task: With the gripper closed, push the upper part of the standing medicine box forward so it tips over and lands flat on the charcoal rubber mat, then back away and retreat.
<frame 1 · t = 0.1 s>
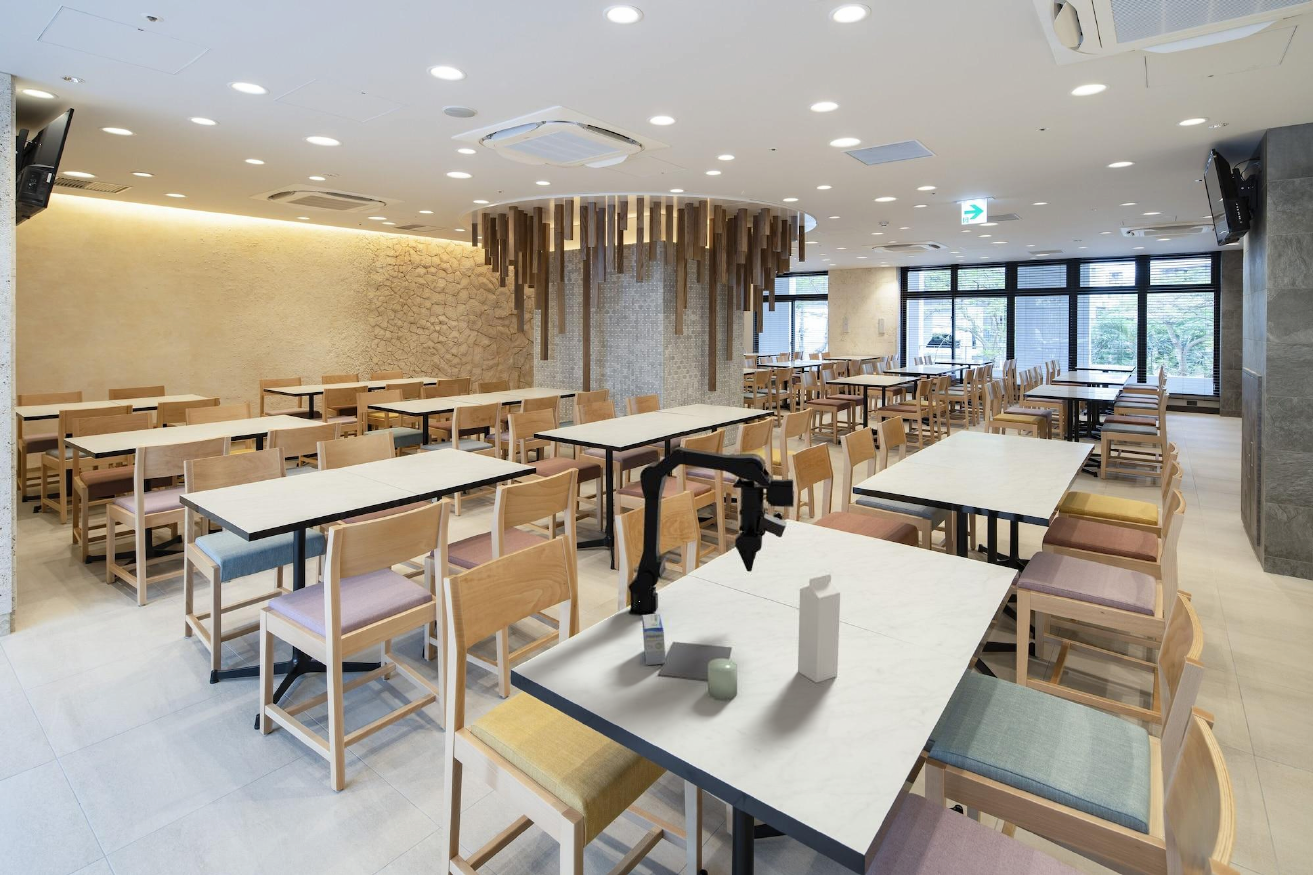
hand: (751, 565, 174), 15 cm above the table, fingers open, 9 cm apart
medicine box: (655, 657, 157), on the table, touching mat
mat: (696, 661, 155), on the table
milk: (817, 674, 149), on the table
pale green cylinder: (722, 692, 142), on the table
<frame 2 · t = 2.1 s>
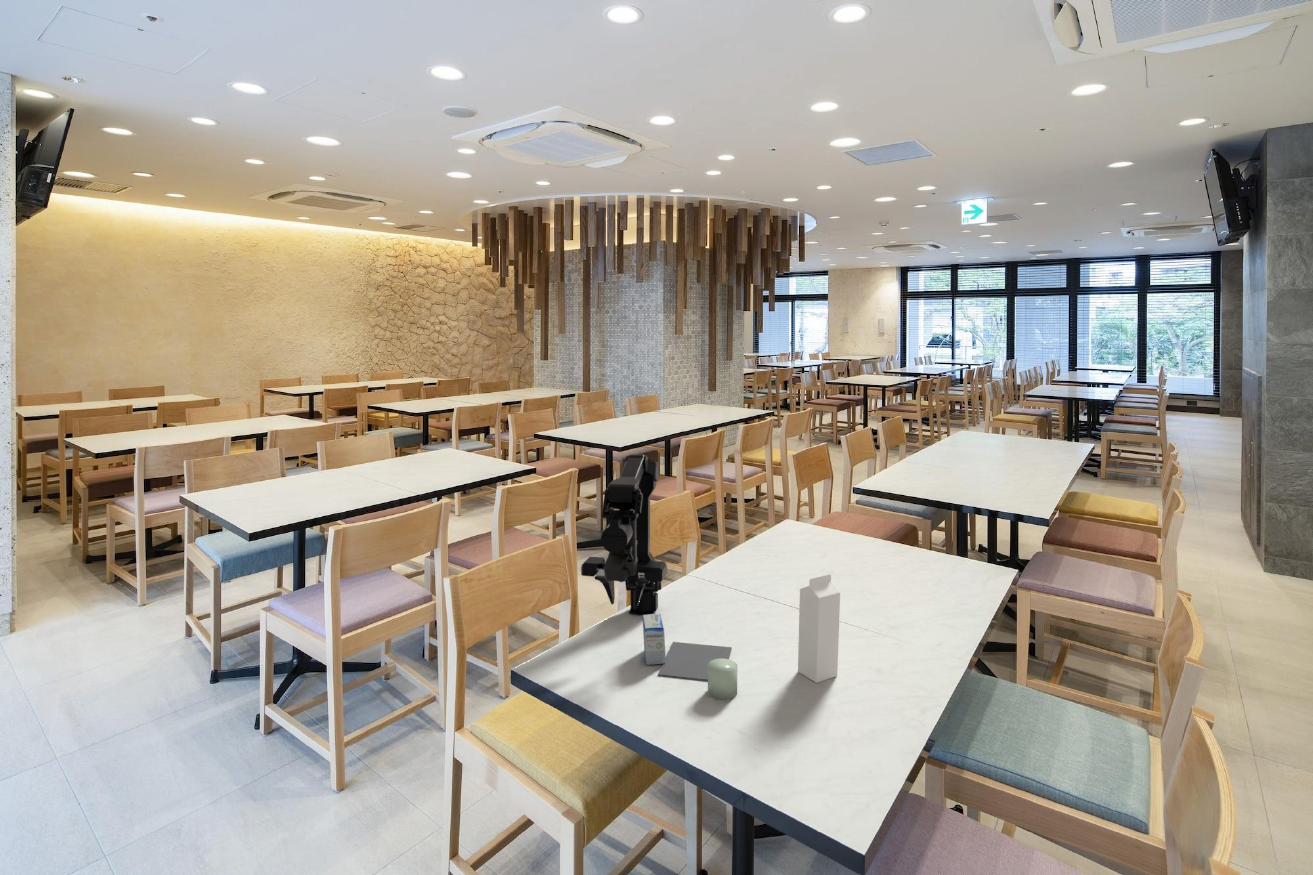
hand: (624, 604, 157), 12 cm above the table, fingers open, 5 cm apart
nothing on the table moved.
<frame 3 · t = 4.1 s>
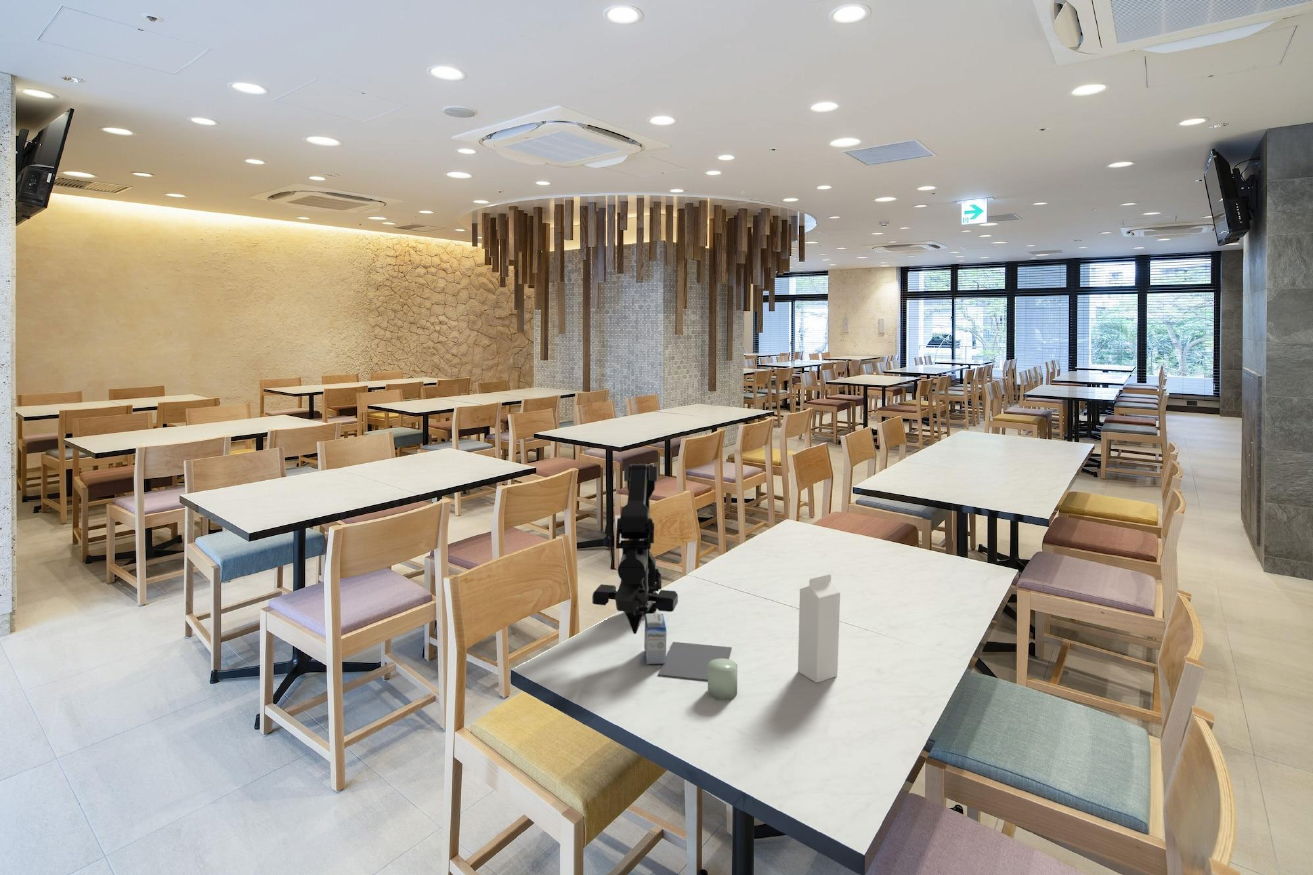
hand: (635, 633, 157), 5 cm above the table, fingers closed
medicine box: (655, 656, 157), on the table, touching gripper, mat
everything else where it was.
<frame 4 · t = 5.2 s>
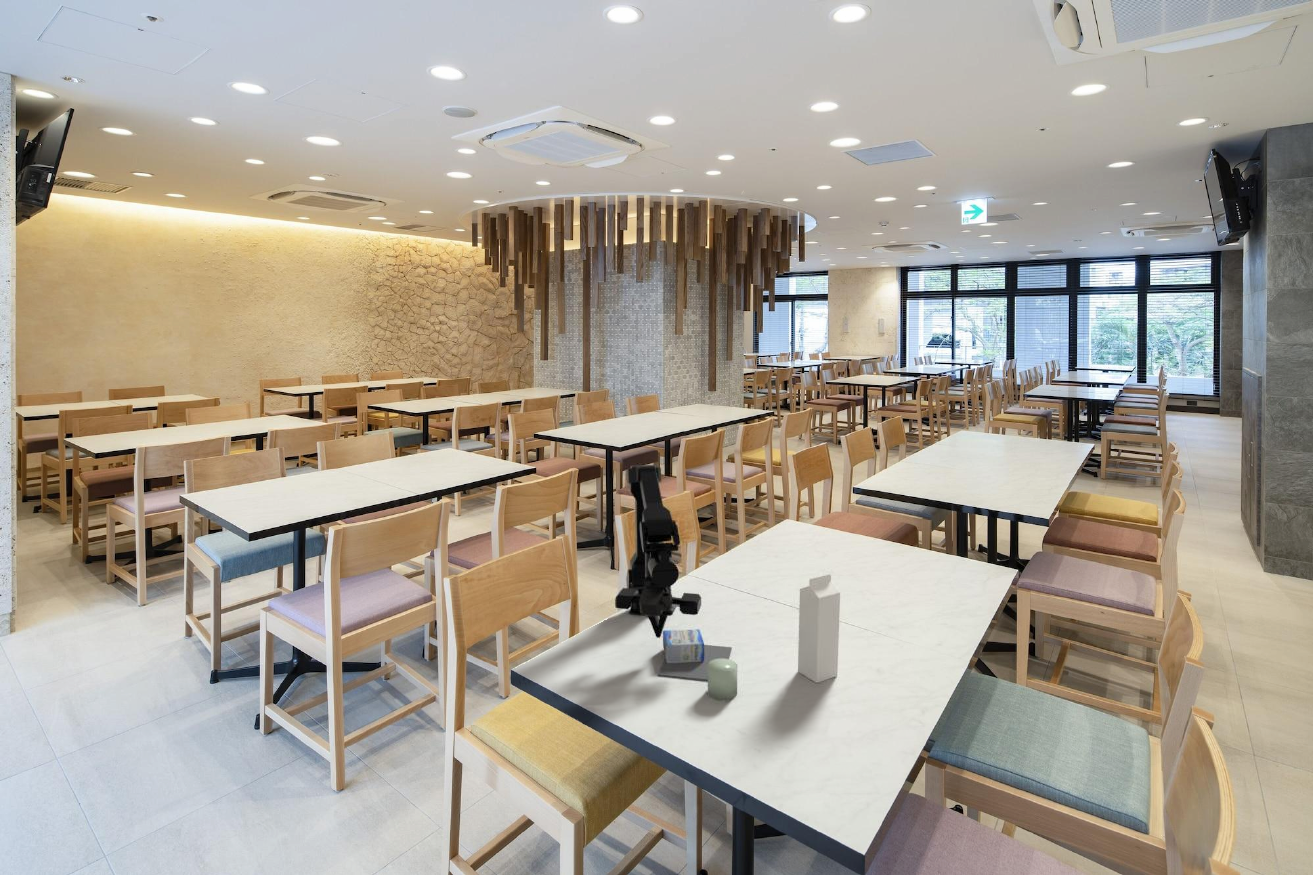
hand: (658, 636, 156), 5 cm above the table, fingers closed
medicine box: (663, 646, 157), point 2 cm above the table, touching mat
everything else where it was.
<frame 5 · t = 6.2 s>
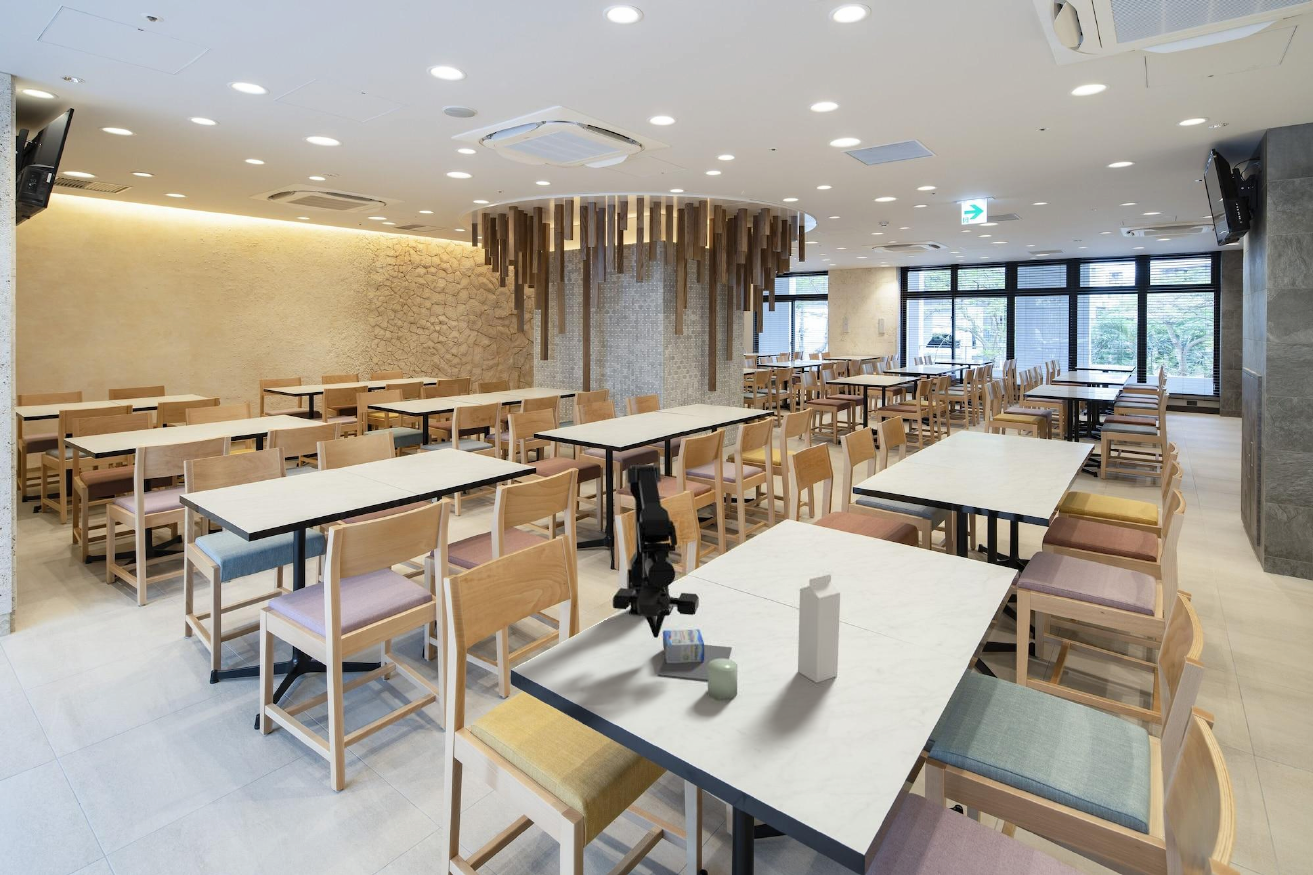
hand: (656, 636, 156), 5 cm above the table, fingers closed
nothing on the table moved.
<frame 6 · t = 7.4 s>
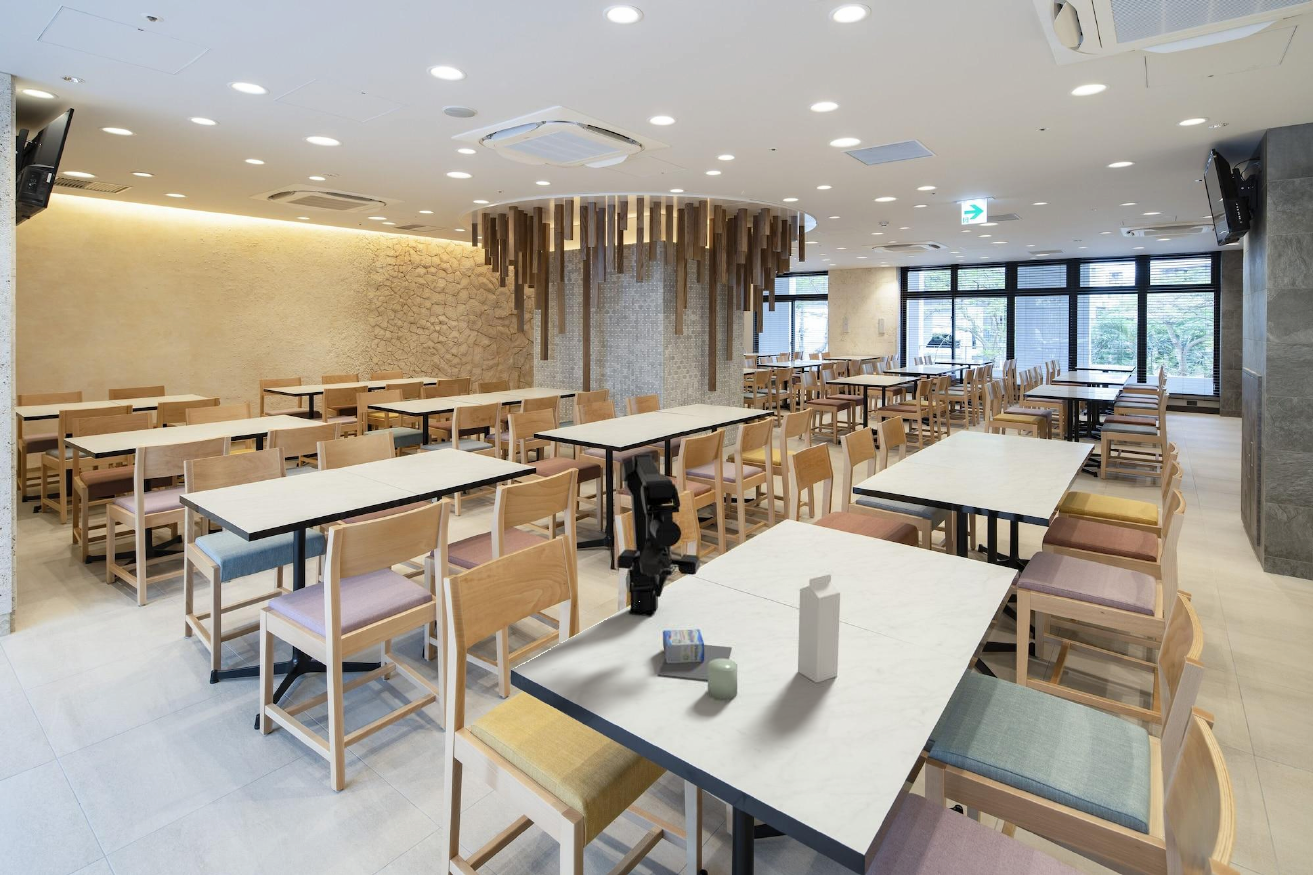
hand: (658, 596, 163), 12 cm above the table, fingers closed
nothing on the table moved.
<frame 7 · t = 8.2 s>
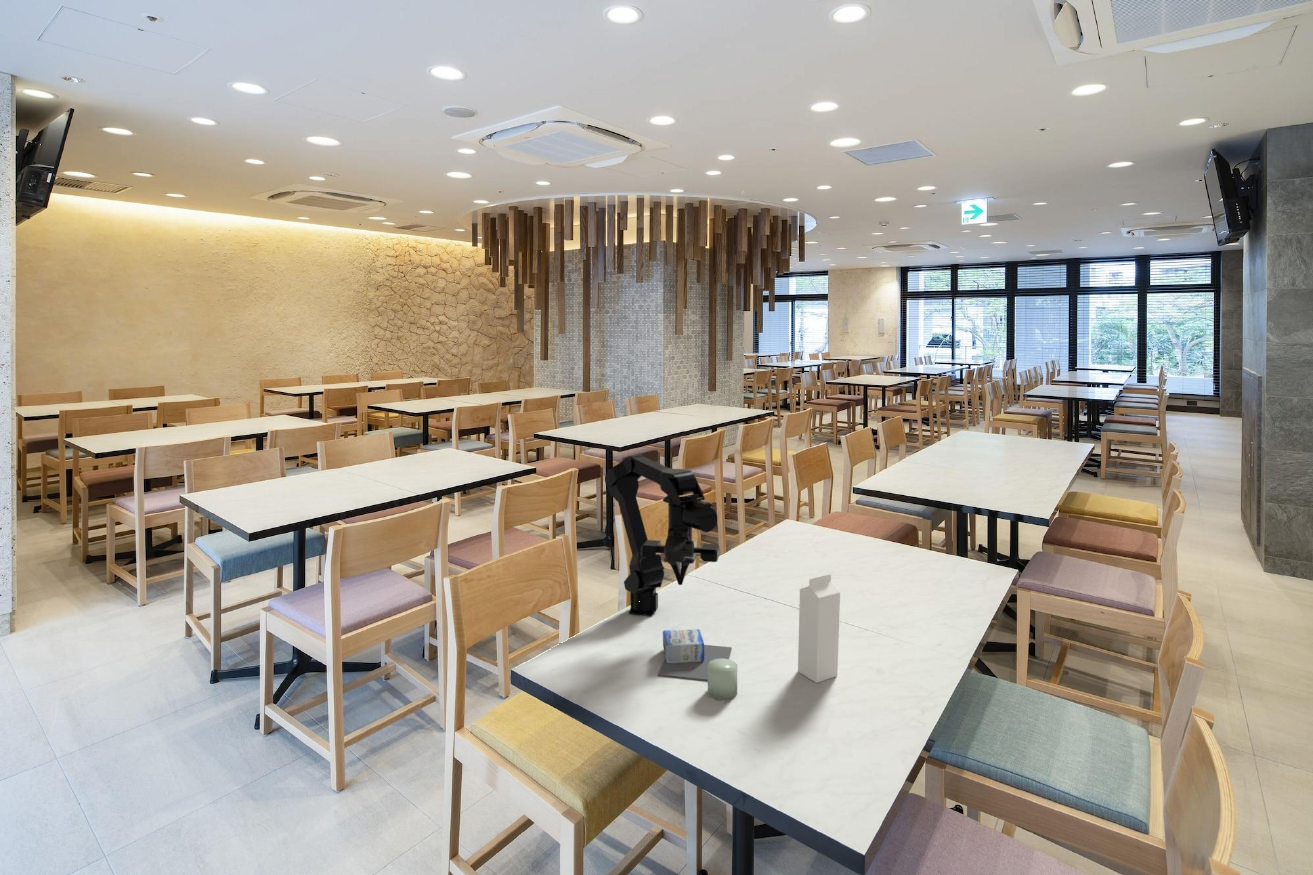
hand: (680, 584, 169), 12 cm above the table, fingers closed
nothing on the table moved.
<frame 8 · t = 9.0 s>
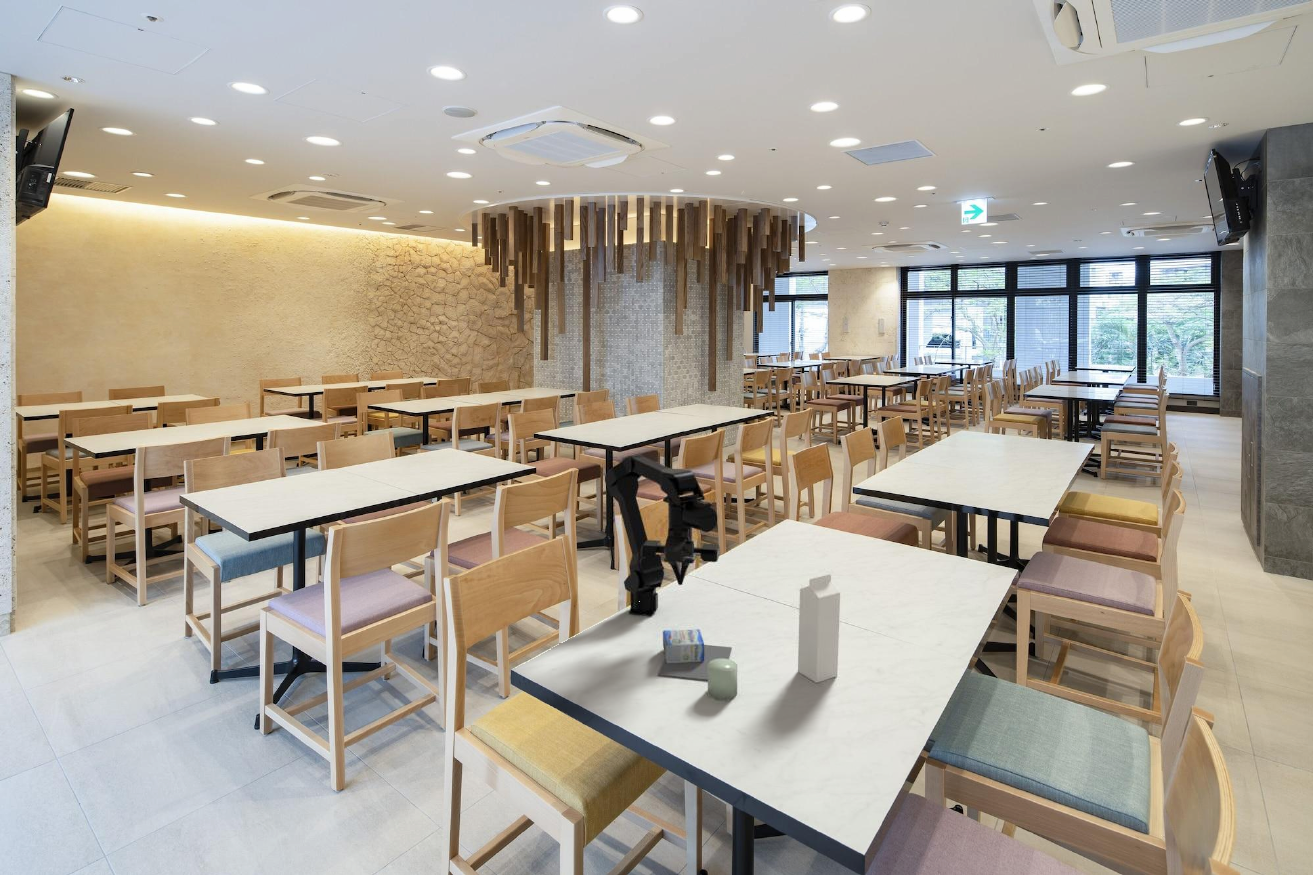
hand: (680, 584, 169), 12 cm above the table, fingers closed
nothing on the table moved.
at the end: medicine box tilted 89°; medicine box inside the target area (6.2 cm from its centre), point 2.4 cm above the table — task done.
